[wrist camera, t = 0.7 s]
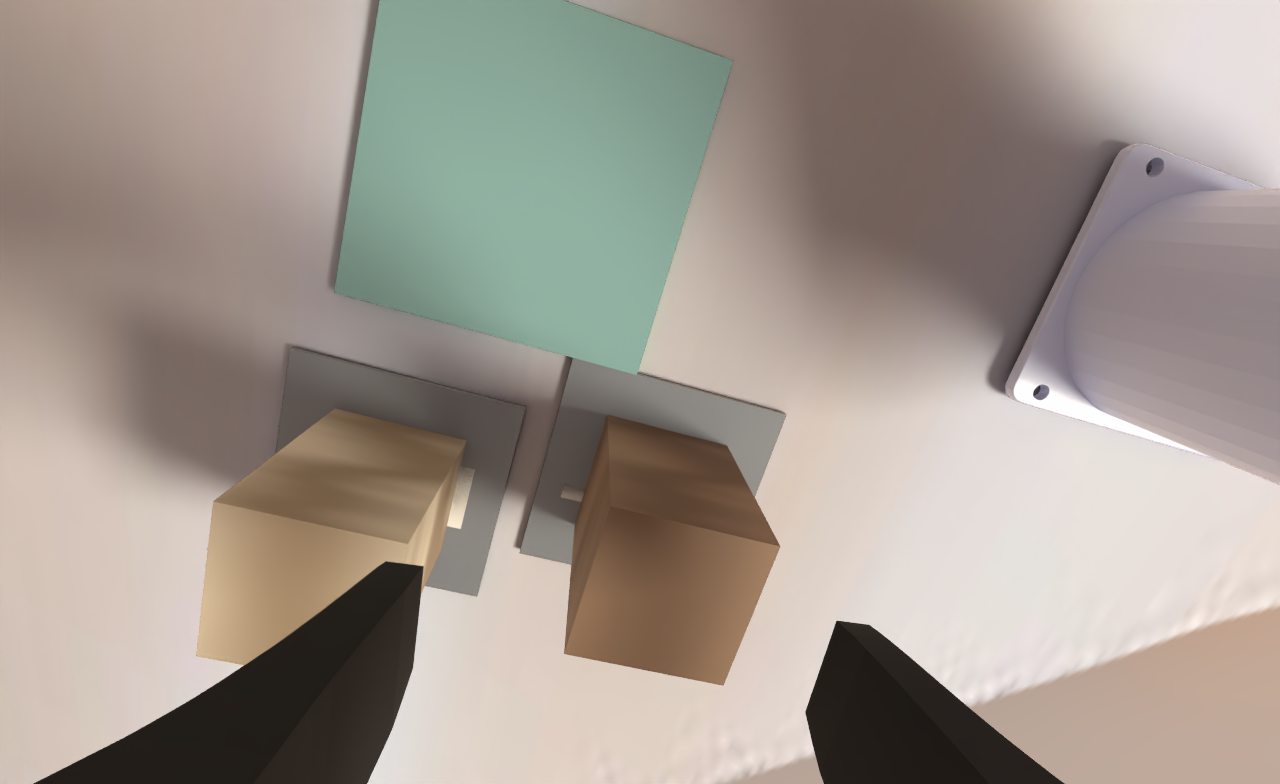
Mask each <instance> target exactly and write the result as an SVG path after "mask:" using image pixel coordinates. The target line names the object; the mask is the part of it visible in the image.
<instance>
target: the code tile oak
mask: <svg viewBox="0 0 1280 784" xmlns="http://www.w3.org/2000/svg"><path fill="white" fill-rule="evenodd" d="M335 408H336V409H340V410H344V411H348V412H352V413H356V414H360V415H364V416H368V417H372V418H376V419H381V420H385V421H389V422H393V423H397V424H401V425H405V426H409V427H413V428H417V429H421V430H425V431H429V432H433V433H438V434H442V435H446V436H450V437H454V438H458V439H462V440H466V441H467V442H466V446H465V451H464V455H463V459H462V463H461V468H460V472H459V476H458V481H457V485H456V489H455V493H454V498H453V502H452V506H451V511H450V515H449V519H448V524H447V528H446V532H445V536H444V541H443V545H442V549H441V552H440V554H439V556H438V558H437V560H436V562H435V565H434V567H433V569H432V571H431V573H430V575H429V578H428V580H427V582H426V584H425V586H429V587H433V588H438V589H443V590H448V591H453V592H457V593H462V594H467V595H472V596H477V595H478V591H479V588H480V584H481V580H482V576H483V572H484V568H485V564H486V560H487V557H488V553H489V549H490V545H491V541H492V537H493V533H494V529H495V525H496V522H497V518H498V514H499V510H500V506H501V502H502V498H503V494H504V491H505V487H506V483H507V479H508V475H509V471H510V467H511V463H512V460H513V456H514V452H515V448H516V444H517V440H518V436H519V432H520V429H521V425H522V421H523V417H524V413H525V409H526V407H525V406H521V405H517V404H513V403H509V402H505V401H501V400H497V399H493V398H490V397H486V396H482V395H478V394H474V393H470V392H466V391H462V390H458V389H455V388H451V387H447V386H443V385H439V384H435V383H431V382H427V381H423V380H420V379H416V378H412V377H408V376H404V375H400V374H396V373H392V372H388V371H384V370H381V369H377V368H373V367H369V366H365V365H361V364H357V363H353V362H349V361H346V360H342V359H338V358H334V357H330V356H326V355H322V354H318V353H314V352H311V351H307V350H303V349H299V348H295V347H293V348H290V353H289V360H288V367H287V374H286V382H285V389H284V396H283V403H282V410H281V418H280V425H279V432H278V439H277V447H276V453H277V452H279V451H280V450H281V449H283V448H284V447H285V446H287V445H288V444H289V443H290V442H292V441H293V440H294V439H296V438H297V437H298V436H300V435H301V434H302V433H304V432H305V431H306V430H307V429H309V428H310V427H311V426H313V425H314V424H315V423H317V422H318V421H319V420H321V419H322V418H323V417H324V416H326V415H327V414H328V413H330V412H331V411H332V410H334V409H335Z"/></svg>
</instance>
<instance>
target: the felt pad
mask: <svg viewBox="0 0 1280 784" xmlns="http://www.w3.org/2000/svg"><path fill="white" fill-rule="evenodd" d="M732 63H733V61H732V60H730V59H727V58H724V57H721V56H718V55H716V54H713V53H710V52H707V51H704V50H702V49H699V48H696V47H693V46H690V45H688V44H685V43H682V42H679V41H677V40H674V39H671V38H668V37H665V36H663V35H660V34H657V33H654V32H651V31H649V30H646V29H643V28H640V27H637V26H635V25H632V24H629V23H626V22H624V21H621V20H618V19H615V18H612V17H610V16H607V15H604V14H601V13H598V12H596V11H593V10H590V9H587V8H584V7H582V6H579V5H576V4H573V3H570V2H568V1H565V0H379V7H378V13H377V19H376V26H375V32H374V39H373V45H372V52H371V58H370V64H369V71H368V77H367V84H366V90H365V97H364V103H363V110H362V116H361V122H360V129H359V135H358V142H357V148H356V155H355V161H354V167H353V174H352V180H351V187H350V193H349V200H348V206H347V212H346V219H345V225H344V232H343V238H342V245H341V251H340V258H339V264H338V270H337V277H336V283H335V290H334V293H337V294H340V295H344V296H348V297H351V298H355V299H359V300H362V301H366V302H370V303H374V304H377V305H381V306H385V307H388V308H392V309H396V310H399V311H403V312H407V313H410V314H414V315H418V316H421V317H425V318H429V319H432V320H436V321H440V322H443V323H447V324H451V325H454V326H458V327H462V328H465V329H469V330H473V331H476V332H480V333H484V334H488V335H491V336H495V337H499V338H502V339H506V340H510V341H513V342H517V343H521V344H524V345H528V346H532V347H535V348H539V349H543V350H546V351H550V352H554V353H557V354H561V355H565V356H568V357H572V358H576V359H579V360H583V361H587V362H590V363H594V364H598V365H602V366H605V367H609V368H613V369H616V370H620V371H624V372H627V373H631V374H635V375H637V373H638V369H639V366H640V363H641V360H642V356H643V353H644V350H645V347H646V343H647V340H648V337H649V334H650V330H651V327H652V324H653V321H654V317H655V314H656V311H657V308H658V304H659V301H660V298H661V295H662V291H663V288H664V285H665V282H666V278H667V275H668V272H669V269H670V265H671V262H672V259H673V256H674V252H675V249H676V246H677V242H678V239H679V236H680V233H681V229H682V226H683V223H684V220H685V216H686V213H687V210H688V207H689V203H690V200H691V197H692V194H693V190H694V187H695V184H696V181H697V177H698V174H699V171H700V168H701V164H702V161H703V158H704V155H705V151H706V148H707V145H708V142H709V138H710V135H711V132H712V129H713V125H714V122H715V119H716V116H717V112H718V109H719V106H720V102H721V99H722V96H723V93H724V89H725V86H726V83H727V80H728V76H729V73H730V70H731V67H732Z"/></svg>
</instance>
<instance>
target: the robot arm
mask: <svg viewBox="0 0 1280 784" xmlns="http://www.w3.org/2000/svg"><path fill="white" fill-rule="evenodd" d="M1150 161H1151V163H1152V168H1151V171H1150V173H1149V174H1148V175H1147V172H1146V167H1147V164H1148V163H1149V162H1150ZM1039 385H1040V386H1041V388H1040V391H1039V393H1038V394H1037V395H1035V396H1033V392H1034V390H1035V388H1036V387H1037V386H1039ZM1005 390H1006V394H1007V395H1008V397H1010V398H1011V399H1013V400H1015V401H1017V402H1020V403H1023V404H1027V405H1030V406H1033V407H1037V408H1040V409H1044V410H1047V411H1050V412H1054V413H1057V414H1061V415H1064V416H1068V417H1071V418H1074V419H1078V420H1081V421H1085V422H1088V423H1091V424H1095V425H1098V426H1102V427H1105V428H1109V429H1112V430H1115V431H1119V432H1122V433H1126V434H1129V435H1132V436H1136V437H1139V438H1143V439H1146V440H1149V441H1153V442H1156V443H1160V444H1163V445H1167V446H1170V447H1173V448H1177V449H1180V450H1184V451H1187V452H1190V453H1194V454H1197V455H1201V456H1204V457H1208V458H1211V459H1214V460H1218V461H1221V462H1224V463H1227V464H1229V465H1232V466H1234V467H1236V468H1239V469H1241V470H1244V471H1246V472H1249V473H1251V474H1253V475H1256V476H1258V477H1261V478H1263V479H1266V480H1268V481H1270V482H1273V483H1275V484H1278V485H1280V189H1266V188H1263V187H1261V186H1258V185H1255V184H1253V183H1250V182H1247V181H1245V180H1242V179H1239V178H1237V177H1234V176H1231V175H1229V174H1226V173H1224V172H1221V171H1218V170H1216V169H1213V168H1210V167H1208V166H1205V165H1202V164H1200V163H1197V162H1194V161H1192V160H1189V159H1186V158H1184V157H1181V156H1178V155H1176V154H1173V153H1170V152H1168V151H1165V150H1163V149H1160V148H1157V147H1155V146H1152V145H1149V144H1144V143H1140V144H1132V145H1129V146H1126V147H1125V148H1123V149H1122V150H1121V151H1120V152H1119V153H1118V155H1117V156H1116V158H1115V160H1114V162H1113V164H1112V166H1111V168H1110V170H1109V172H1108V174H1107V176H1106V178H1105V180H1104V182H1103V184H1102V186H1101V189H1100V191H1099V193H1098V195H1097V197H1096V199H1095V201H1094V203H1093V205H1092V207H1091V209H1090V211H1089V213H1088V215H1087V217H1086V219H1085V221H1084V223H1083V226H1082V228H1081V230H1080V232H1079V234H1078V236H1077V238H1076V240H1075V242H1074V244H1073V246H1072V248H1071V250H1070V252H1069V254H1068V256H1067V258H1066V260H1065V262H1064V265H1063V267H1062V269H1061V271H1060V273H1059V275H1058V277H1057V279H1056V281H1055V283H1054V285H1053V287H1052V289H1051V291H1050V293H1049V295H1048V297H1047V299H1046V302H1045V304H1044V306H1043V308H1042V310H1041V312H1040V314H1039V316H1038V318H1037V320H1036V322H1035V324H1034V326H1033V328H1032V330H1031V332H1030V334H1029V336H1028V339H1027V341H1026V343H1025V345H1024V347H1023V349H1022V351H1021V353H1020V355H1019V357H1018V359H1017V361H1016V363H1015V365H1014V367H1013V369H1012V371H1011V373H1010V376H1009V378H1008V380H1007V382H1006V386H1005ZM423 569H424V566H419V565H411V564H404V563H396V562H388V561H385V562H384V563H382V564H381V565H379V566H378V567H377V568H375V569H374V570H373V571H372V572H370V573H369V574H368V575H366V576H365V577H364V578H363V579H361V580H360V581H359V582H358V583H356V584H355V585H354V586H353V587H351V588H350V589H349V590H347V591H346V592H345V593H344V594H342V595H341V596H340V597H339V598H337V599H336V600H335V601H333V602H332V603H331V604H329V605H328V606H327V607H326V608H324V609H323V610H322V611H320V612H319V613H318V614H316V615H315V616H314V617H312V618H311V619H309V620H308V621H307V622H305V623H304V624H303V625H301V626H300V627H299V628H297V629H296V630H295V631H293V632H292V633H291V634H289V635H288V636H286V637H285V638H284V639H282V640H281V641H279V642H278V643H277V644H275V645H274V646H272V647H271V648H269V649H268V650H266V651H265V652H263V653H262V654H261V655H259V656H258V657H256V658H255V659H253V660H252V661H250V662H249V663H247V664H246V665H244V666H243V667H241V668H240V669H238V670H237V671H235V672H234V673H232V674H231V675H229V676H228V677H226V678H225V679H223V680H222V681H220V682H219V683H217V684H215V685H214V686H212V687H211V688H209V689H207V690H206V691H204V692H203V693H201V694H199V695H198V696H196V697H195V698H193V699H191V700H190V701H188V702H186V703H185V704H183V705H181V706H180V707H178V708H176V709H174V710H173V711H171V712H169V713H167V714H166V715H164V716H162V717H160V718H159V719H157V720H155V721H153V722H152V723H150V724H148V725H146V726H145V727H143V728H141V729H139V730H137V731H136V732H134V733H132V734H130V735H128V736H126V737H125V738H123V739H121V740H119V741H117V742H115V743H113V744H111V745H109V746H107V747H105V748H103V749H101V750H99V751H97V752H95V753H93V754H91V755H89V756H87V757H85V758H83V759H81V760H79V761H77V762H75V763H73V764H72V765H70V766H68V767H66V768H64V769H62V770H60V771H58V772H56V773H54V774H52V775H50V776H48V777H46V778H44V779H42V780H40V781H38V782H36V783H34V784H367V783H368V780H369V778H370V776H371V774H372V772H373V770H374V767H375V765H376V763H377V761H378V759H379V757H380V754H381V752H382V750H383V748H384V746H385V744H386V741H387V739H388V737H389V735H390V733H391V730H392V728H393V725H394V722H395V719H396V716H397V713H398V711H399V708H400V705H401V702H402V699H403V696H404V693H405V690H406V687H407V684H408V681H409V678H410V675H411V672H412V669H413V662H414V653H415V644H416V634H417V625H418V616H419V606H420V597H421V587H422V578H423ZM806 717H807V721H808V725H809V730H810V734H811V739H812V743H813V747H814V751H815V755H816V759H817V762H818V766H819V770H820V773H821V776H822V779H823V782H824V784H1064V783H1063V782H1061V781H1060V780H1059V779H1057V778H1056V777H1055V776H1053V775H1052V774H1051V773H1049V772H1048V771H1047V770H1046V769H1044V768H1043V767H1042V766H1041V765H1039V764H1038V763H1037V762H1035V761H1034V760H1033V759H1032V758H1030V757H1029V756H1028V755H1026V754H1025V753H1024V752H1023V751H1021V750H1020V749H1019V748H1017V747H1016V746H1015V745H1014V744H1012V743H1011V742H1010V741H1009V740H1007V739H1006V738H1005V737H1004V736H1002V735H1001V734H1000V733H999V732H997V731H996V730H995V729H994V728H993V727H991V726H990V725H989V724H988V723H987V722H985V721H984V720H983V719H982V718H980V717H979V716H978V715H977V714H976V713H975V712H973V711H972V710H971V709H970V708H969V707H967V706H966V705H965V704H964V703H963V702H961V701H960V700H959V699H958V698H957V697H956V696H954V695H953V694H952V693H951V692H950V691H949V690H947V689H946V688H945V687H944V686H943V685H942V684H940V683H939V682H938V681H937V680H936V679H935V678H933V677H932V676H931V675H930V674H929V673H928V672H926V671H925V670H924V669H923V668H922V667H921V666H919V665H918V664H917V663H916V662H915V661H914V660H912V659H911V658H910V657H909V656H908V655H906V654H905V653H904V652H903V651H902V650H900V649H899V648H898V647H897V646H896V645H894V644H893V643H892V642H891V641H890V640H888V639H887V638H886V637H884V636H883V635H882V634H881V633H879V632H878V631H877V630H875V629H874V628H873V627H871V626H870V625H866V624H858V623H850V622H843V621H836V624H835V627H834V630H833V633H832V636H831V639H830V642H829V645H828V648H827V651H826V654H825V656H824V659H823V662H822V665H821V668H820V671H819V674H818V677H817V680H816V683H815V686H814V689H813V691H812V694H811V697H810V700H809V703H808V706H807V709H806Z"/></svg>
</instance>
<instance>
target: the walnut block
mask: <svg viewBox="0 0 1280 784" xmlns="http://www.w3.org/2000/svg"><path fill="white" fill-rule="evenodd" d="M779 548H780V545H779V543H778V541H777V539H776V537H775V536H774V534H773V532H772V530H771V528H770V526H769V524H768V522H767V520H766V518H765V517H764V515H763V513H762V511H761V509H760V507H759V505H758V503H757V501H756V499H755V498H754V496H753V494H752V492H751V490H750V488H749V486H748V484H747V482H746V480H745V479H744V477H743V475H742V473H741V471H740V469H739V467H738V465H737V463H736V461H735V459H734V458H733V456H732V454H731V452H730V450H729V448H728V446H727V445H723V444H719V443H715V442H711V441H707V440H704V439H700V438H696V437H692V436H688V435H684V434H681V433H677V432H673V431H669V430H665V429H661V428H657V427H654V426H650V425H646V424H642V423H638V422H634V421H631V420H627V419H623V418H619V417H615V416H611V415H607V418H606V422H605V425H604V428H603V432H602V435H601V438H600V442H599V445H598V448H597V452H596V455H595V459H594V462H593V465H592V469H591V472H590V475H589V479H588V482H587V485H586V489H585V492H584V495H583V499H582V502H581V505H580V509H579V512H578V515H577V519H576V522H575V528H574V540H573V552H572V564H571V577H570V589H569V601H568V614H567V626H566V638H565V650H564V654H568V655H573V656H578V657H583V658H588V659H593V660H598V661H603V662H608V663H613V664H618V665H623V666H628V667H633V668H638V669H643V670H648V671H653V672H658V673H663V674H668V675H673V676H678V677H683V678H688V679H693V680H698V681H703V682H708V683H713V684H718V685H724V683H725V680H726V678H727V675H728V673H729V670H730V668H731V666H732V663H733V661H734V658H735V656H736V653H737V651H738V648H739V646H740V644H741V641H742V639H743V636H744V634H745V631H746V629H747V627H748V624H749V622H750V619H751V617H752V614H753V612H754V609H755V607H756V605H757V602H758V600H759V597H760V595H761V592H762V590H763V587H764V585H765V583H766V580H767V578H768V575H769V573H770V570H771V568H772V566H773V563H774V561H775V558H776V556H777V553H778V551H779Z"/></svg>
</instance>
